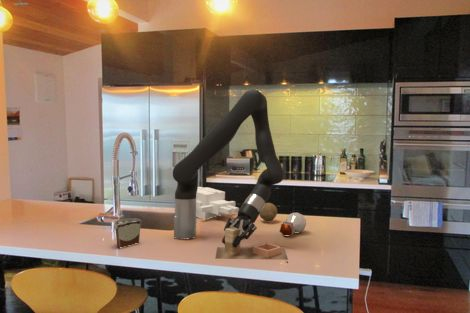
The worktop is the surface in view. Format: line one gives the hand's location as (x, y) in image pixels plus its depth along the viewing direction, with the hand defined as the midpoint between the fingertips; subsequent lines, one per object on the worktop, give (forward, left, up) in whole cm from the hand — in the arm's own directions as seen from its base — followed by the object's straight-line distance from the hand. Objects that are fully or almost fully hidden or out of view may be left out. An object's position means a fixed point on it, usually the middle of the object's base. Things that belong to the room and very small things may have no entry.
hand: (228, 244), depth 159 cm
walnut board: (+8, +1, -5) cm, 10 cm away
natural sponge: (+18, +59, -5) cm, 62 cm away
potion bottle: (+28, +36, -5) cm, 46 cm away
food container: (-43, +15, -5) cm, 46 cm away
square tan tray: (+14, +1, -4) cm, 15 cm away
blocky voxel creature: (-10, +69, -5) cm, 70 cm away
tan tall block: (+1, +1, -4) cm, 4 cm away
